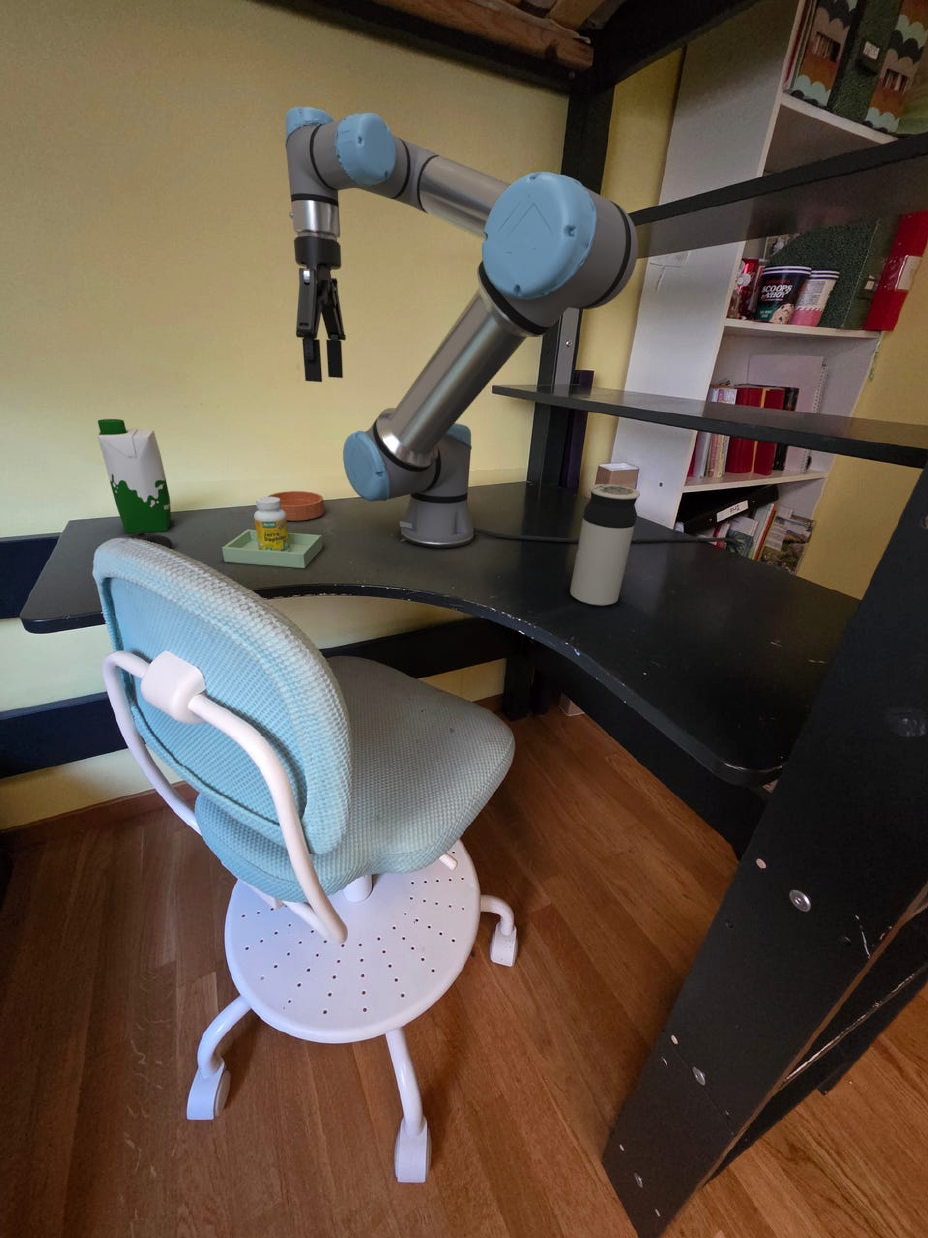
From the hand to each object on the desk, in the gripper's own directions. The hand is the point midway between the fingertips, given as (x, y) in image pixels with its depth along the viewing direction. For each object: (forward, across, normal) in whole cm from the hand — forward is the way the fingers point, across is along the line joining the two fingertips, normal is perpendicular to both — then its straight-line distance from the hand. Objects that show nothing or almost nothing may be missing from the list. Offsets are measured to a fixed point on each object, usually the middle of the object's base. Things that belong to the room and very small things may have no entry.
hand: (325, 379), depth 95 cm
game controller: (+29, +22, -28) cm, 46 cm away
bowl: (+29, -8, -11) cm, 32 cm away
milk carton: (+29, +8, -35) cm, 46 cm away
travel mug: (+29, +24, +51) cm, 63 cm away
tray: (+29, +17, -6) cm, 34 cm away
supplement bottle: (+28, +17, -6) cm, 34 cm away
